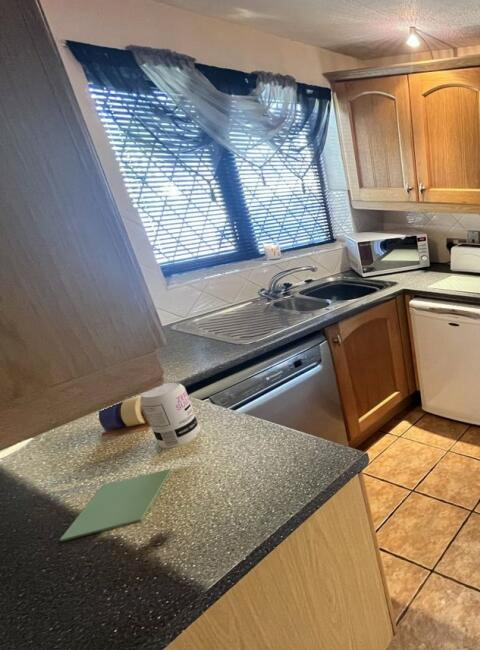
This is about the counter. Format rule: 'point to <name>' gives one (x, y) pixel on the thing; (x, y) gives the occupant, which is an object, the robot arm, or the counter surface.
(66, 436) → the counter surface
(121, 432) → the tape rack
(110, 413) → the vinyl tape
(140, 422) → the masking tape
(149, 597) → the counter surface
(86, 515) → the mat
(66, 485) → the counter surface
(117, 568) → the counter surface
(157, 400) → the supplement can
